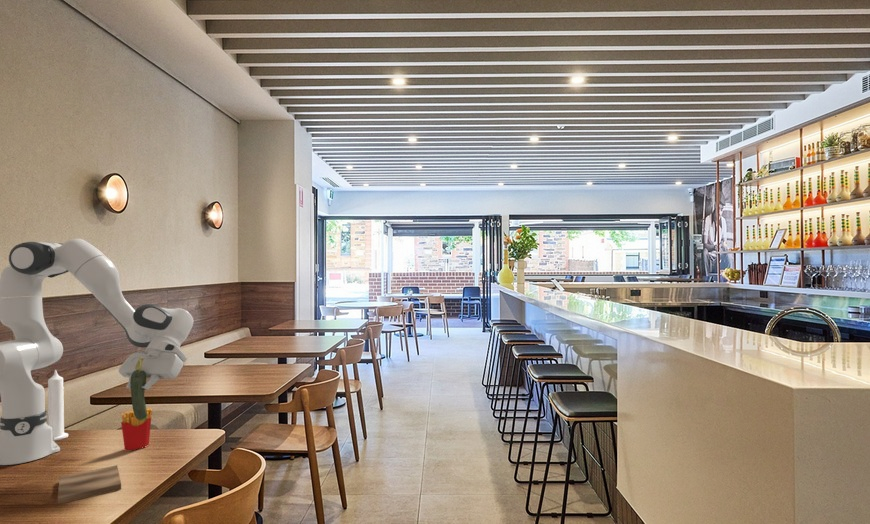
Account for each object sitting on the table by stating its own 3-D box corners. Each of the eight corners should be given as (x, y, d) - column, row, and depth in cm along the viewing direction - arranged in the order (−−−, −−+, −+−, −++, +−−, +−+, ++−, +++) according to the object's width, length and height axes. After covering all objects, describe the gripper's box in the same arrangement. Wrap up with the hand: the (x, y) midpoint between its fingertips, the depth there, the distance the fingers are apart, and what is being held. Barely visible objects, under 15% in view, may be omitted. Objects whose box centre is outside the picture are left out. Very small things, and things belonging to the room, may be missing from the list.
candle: (55, 441, 180) (54, 372, 180) (39, 440, 181) (38, 371, 182) (73, 435, 187) (72, 368, 187) (57, 434, 188) (56, 367, 189)
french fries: (123, 452, 167) (122, 413, 167) (120, 449, 170) (120, 411, 170) (154, 445, 173) (153, 408, 173) (151, 442, 176) (150, 405, 176)
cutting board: (59, 482, 144) (59, 477, 144) (117, 470, 152) (117, 465, 152) (57, 504, 130) (57, 498, 130) (121, 489, 138) (121, 483, 138)
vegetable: (135, 424, 153) (134, 359, 153) (128, 422, 155) (126, 358, 155) (150, 420, 156) (148, 356, 157) (142, 419, 159) (141, 355, 159)
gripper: (129, 345, 165) (103, 381, 156) (181, 346, 160) (158, 384, 151) (140, 356, 170) (115, 392, 160) (191, 358, 164) (169, 395, 155)
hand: (136, 388), depth 155 cm, fingers closed on vegetable, 4 cm apart
